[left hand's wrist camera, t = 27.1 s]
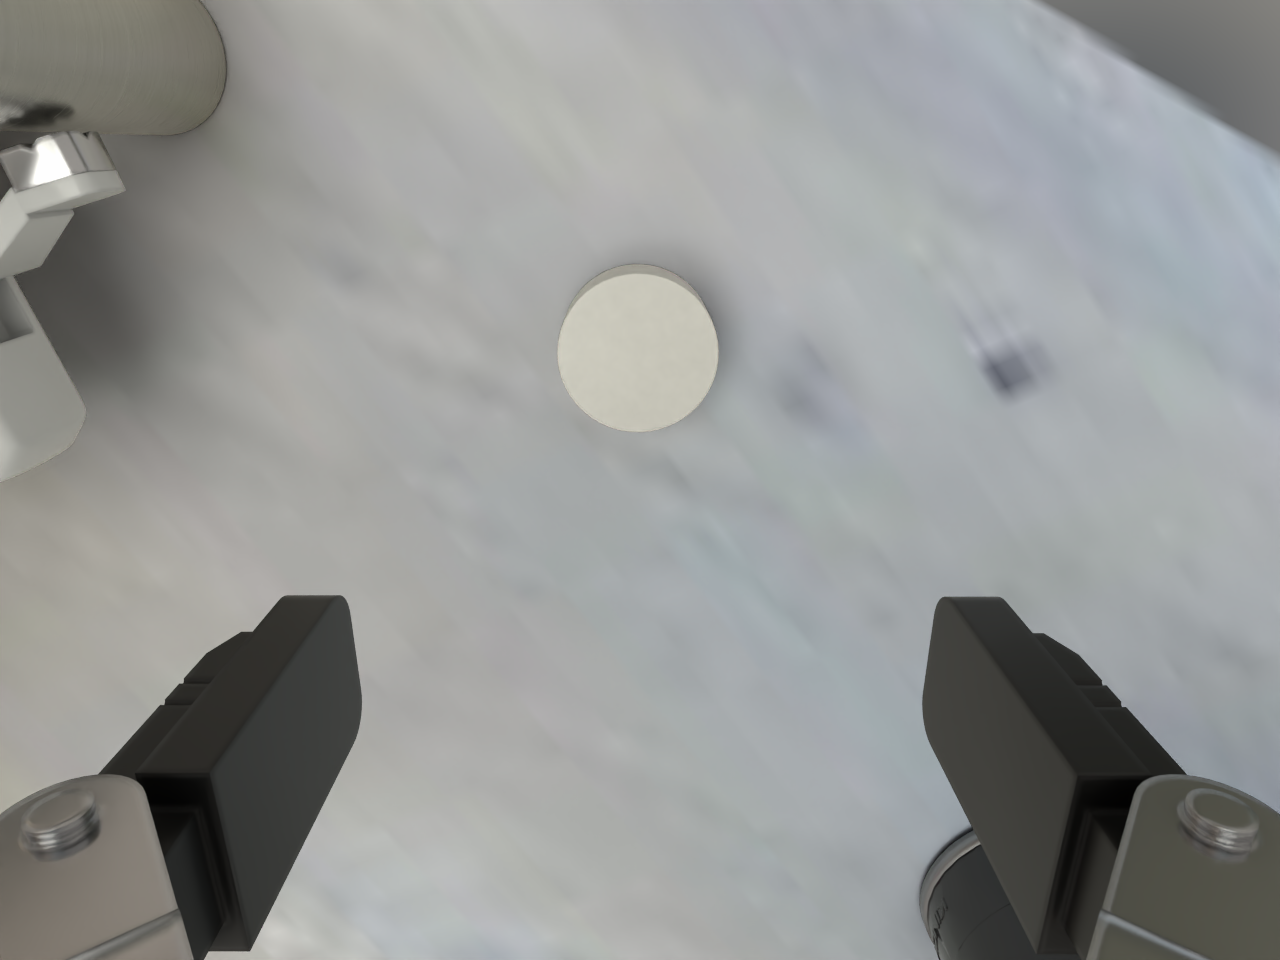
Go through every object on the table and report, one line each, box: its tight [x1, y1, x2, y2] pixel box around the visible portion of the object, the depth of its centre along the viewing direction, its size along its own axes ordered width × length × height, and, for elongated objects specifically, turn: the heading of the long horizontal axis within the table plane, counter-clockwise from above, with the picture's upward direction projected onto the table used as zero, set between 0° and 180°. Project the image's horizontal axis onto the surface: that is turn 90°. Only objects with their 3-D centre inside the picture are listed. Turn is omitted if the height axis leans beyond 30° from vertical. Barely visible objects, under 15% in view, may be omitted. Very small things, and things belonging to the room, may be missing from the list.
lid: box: [557, 264, 719, 432], centre depth 28 cm, size 5×5×2 cm
